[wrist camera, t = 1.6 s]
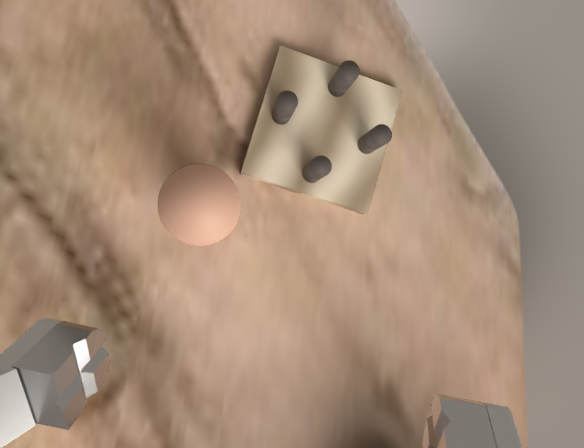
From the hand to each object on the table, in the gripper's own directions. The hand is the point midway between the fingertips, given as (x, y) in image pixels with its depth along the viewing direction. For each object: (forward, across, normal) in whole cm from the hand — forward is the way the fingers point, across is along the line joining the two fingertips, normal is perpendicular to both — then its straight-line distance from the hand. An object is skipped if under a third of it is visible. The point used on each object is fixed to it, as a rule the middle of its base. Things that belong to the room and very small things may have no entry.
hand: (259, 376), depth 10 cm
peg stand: (+38, +3, +4) cm, 38 cm away
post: (+30, +13, +12) cm, 34 cm away
